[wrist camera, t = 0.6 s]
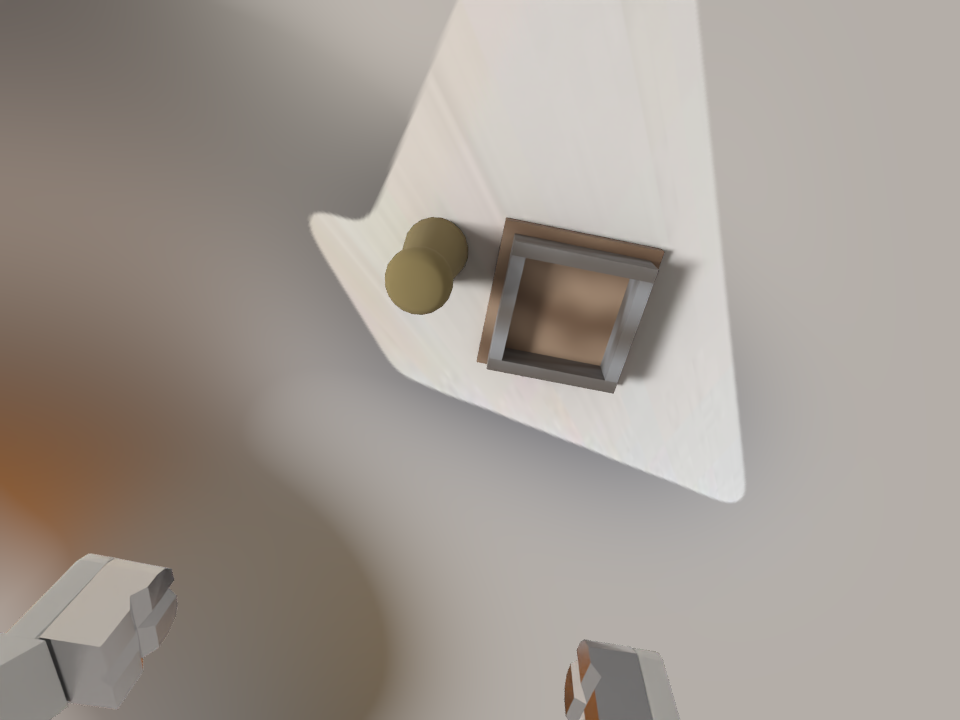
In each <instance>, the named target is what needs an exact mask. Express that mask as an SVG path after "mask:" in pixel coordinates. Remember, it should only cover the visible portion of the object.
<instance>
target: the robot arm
mask: <svg viewBox="0 0 960 720" xmlns="http://www.w3.org/2000/svg"><path fill="white" fill-rule="evenodd" d="M173 581H174V577H173V572H172V569H171V568H166V567H160V566H155V565H149V564H144V563H139V562H133V561H128V560H123V559H118V558H113V557H108V556H102V555H96V554H90V553H89V554H87V555H86V556H84V557H83V558H81V559H79V560H77V561H76V562H75V563H74V564H73V565H72V566H71V567H70V568H69V569H68V570H67V571H66V573H65V574H64V575H63V576H62V577H61V578H60V579H59V580H58V581H57V582H56V583H55V584H54V585H53V586H52V587H51V588H50V589H49V590H48V591H47V592H46V593H45V594H44V595H43V596H42V597H41V598H40V599H39V600H38V601H37V602H36V603H35V604H34V605H33V606H32V607H31V608H30V609H29V610H28V611H27V612H26V613H25V614H24V615H23V616H22V617H21V618H20V619H19V620H18V621H17V622H16V623H15V624H14V625H13V626H12V627H11V628H10V629H9V630H8V631H7V632H6V633H1V632H0V720H51V719H52V718H53V717H55V716H56V715H58V714H59V713H60V712H62V711H63V710H64V709H66V708H67V707H68V703H73V704H79V705H87V706H94V707H102V708H110V709H118V708H119V707H120V705H121V704H122V702H123V701H124V699H125V698H126V697H127V695H128V694H129V692H130V690H131V689H132V687H133V686H134V685H135V683H136V682H137V680H138V678H139V677H140V675H141V674H142V673H143V658H144V657H145V656H147V655H148V654H150V653H151V652H153V651H154V650H156V649H157V648H159V647H160V645H161V644H162V642H163V641H164V639H165V638H166V636H167V635H168V633H169V631H170V629H171V626H172V624H173V622H174V619H175V617H176V612H177V606H178V602H177V595H176V594H175V593H174V592H173V591H171V589H170V588H169V587H170V585H171V584H172V583H173ZM577 656H578V660H576V661H574V662H572V663H571V664H570V667H569V669H568V672H567V675H566V682H565V698H564V700H565V701H564V702H565V714H566V717H567V719H568V720H680V718H679V714H678V711H677V707H676V704H675V700H674V697H673V693H672V690H671V686H670V683H669V679H668V676H667V672H666V669H665V665H664V662H663V659H662V657H661V656H660V654H659V653H657V652H655V651H649V650H643V649H636V648H631V647H629V646H623V645H616V644H610V643H603V642H597V641H591V640H583V641H581V642H580V644H579V646H578V648H577Z"/></svg>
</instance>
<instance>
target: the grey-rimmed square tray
mask: <svg viewBox="0 0 960 720" xmlns="http://www.w3.org/2000/svg"><path fill="white" fill-rule="evenodd" d="M663 255H664V251H663V250H662V249H659V248H654V247H649V246H644V245H639V244H634V243H629V242H625V241H620V240H615V239H610V238H605V237H600V236H595V235H590V234H585V233H580V232H575V231H570V230H565V229H560V228H555V227H550V226H546V225H541V224H536V223H531V222H526V221H521V220H516V219H511V218H506V221H505V226H504V230H503V235H502V240H501V245H500V250H499V255H498V260H497V264H496V269H495V274H494V279H493V284H492V289H491V293H490V298H489V303H488V308H487V313H486V318H485V323H484V327H483V332H482V337H481V342H480V347H479V352H478V357H477V362H480V363H485V364H487V369H489V370H494V371H499V372H504V373H510V374H515V375H520V376H525V377H530V378H536V379H541V380H546V381H551V382H556V383H561V384H567V385H572V386H577V387H582V388H587V389H593V390H598V391H603V392H608V393H613V394H614V391H615V388H616V386H617V383H618V380H619V377H620V375H621V372H622V369H623V366H624V364H625V361H626V358H627V355H628V353H629V350H630V347H631V345H632V342H633V339H634V336H635V334H636V331H637V328H638V325H639V323H640V320H641V317H642V315H643V312H644V309H645V306H646V304H647V301H648V298H649V295H650V293H651V290H652V287H653V284H654V282H655V279H656V276H657V274H658V271H659V270H658V269H659V266H660V263H661V260H662V258H663Z"/></svg>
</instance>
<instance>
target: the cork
mask: <svg viewBox="0 0 960 720" xmlns="http://www.w3.org/2000/svg"><path fill="white" fill-rule="evenodd" d="M467 258H468V245H467V242H466V238H465V236H464V235H463V233H462V232H461V230H460V229H459V228H458V227H457V226H456V225H455V224H453V223H452V222H450V221H448V220H445V219H443V218H434V217H431V218H427V219H423V220H421V221H419V222H418V223H416V224H415V225H413V227H412V228H411V229H410V231H409V232H408V233H407V236H406V239H405V242H404V246H403V250H402V251H400V252H399V253H397V254H396V255H395V256H394V257H393V259H392V260H391V261H390V262H389V264H388V266H387V269H386V273H385V287H386V290H387V293H388V295H389V297H390V298H391V300H392V301H393V302H394V304H395V305H397V306H398V307H399V308H400V309H402V310H403V311H406V312H409V313H411V314H419V315H423V314H428V313H432V312H434V311H435V310H437V309H439V308H440V307H442V306H443V305H444V304H445V302H446V301H447V300H448V299H449V296H450V294H451V291H452V288H453V279H454V278H455V277H456V276H457V275H458V273H459V272H460V271H461V270H462V269H463V267H464V266H465V263H466V261H467Z"/></svg>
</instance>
